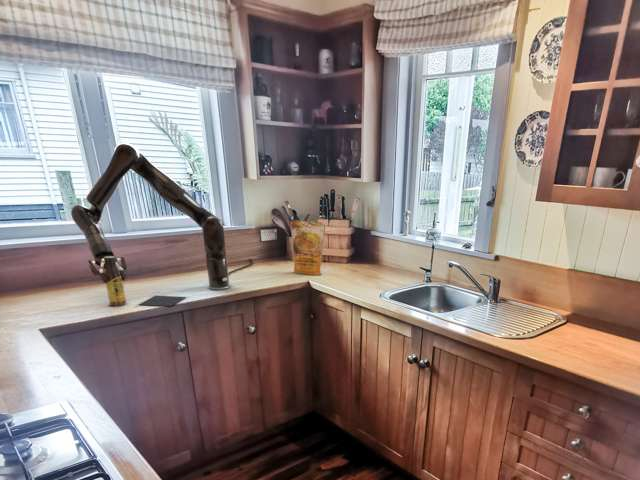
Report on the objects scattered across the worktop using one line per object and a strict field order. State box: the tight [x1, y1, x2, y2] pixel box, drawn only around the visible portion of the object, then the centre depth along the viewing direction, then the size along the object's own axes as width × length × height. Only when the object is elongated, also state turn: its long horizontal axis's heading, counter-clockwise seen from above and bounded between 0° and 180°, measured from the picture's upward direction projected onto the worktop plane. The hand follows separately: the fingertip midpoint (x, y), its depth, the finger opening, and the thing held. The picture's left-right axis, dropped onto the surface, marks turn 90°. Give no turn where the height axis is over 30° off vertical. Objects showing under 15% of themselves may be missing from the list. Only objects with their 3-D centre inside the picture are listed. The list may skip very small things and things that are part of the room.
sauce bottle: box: [104, 255, 127, 307], centre depth 194 cm, size 7×6×20 cm
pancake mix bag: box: [289, 219, 326, 276], centre depth 255 cm, size 7×19×28 cm, turn 74°
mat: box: [139, 295, 186, 308], centre depth 203 cm, size 14×14×1 cm
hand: (115, 280), depth 192 cm, fingers closed on sauce bottle, 6 cm apart
